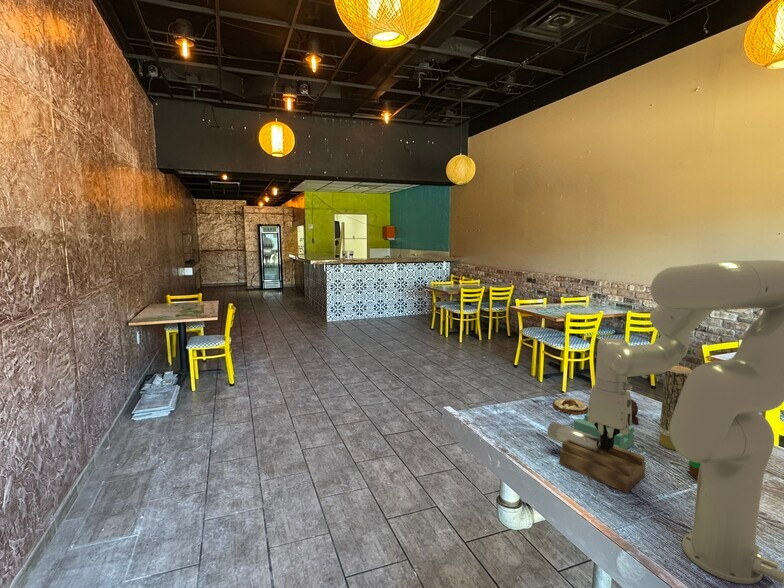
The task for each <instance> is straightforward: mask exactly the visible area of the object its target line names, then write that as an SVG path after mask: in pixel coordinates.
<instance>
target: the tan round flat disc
mask: <svg viewBox="0 0 784 588" xmlns="http://www.w3.org/2000/svg"><path fill="white" fill-rule="evenodd" d="M552 408H554V409H555V410H556V409H557V410H556V411H558V410H560V411H559V412H561V411H562V412H565V413H564V414H566V413H569V414H568V415H571V414H573V415H572V416H580V415H585V414H587V413H588V405H587V404H586V403H584V402H583V401H581V400H580V399H576V398H567V397H566V398H555V399H554V400H553V402H552ZM562 412H561V413H562ZM579 414H580V415H579Z"/></svg>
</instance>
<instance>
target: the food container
mask: <svg viewBox="0 0 784 588" xmlns="http://www.w3.org/2000/svg"><path fill="white" fill-rule="evenodd" d="M688 461H689V462H688V463H689V465H688V466H689V467H688V470H689V472H688V473H689V476H690V477H691V478H692V479H693V480H695V481H697V482H698V474H699V467H700V464H701V463H696V462H692V461H690V460H688Z"/></svg>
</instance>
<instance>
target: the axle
mask: <svg viewBox="0 0 784 588" xmlns="http://www.w3.org/2000/svg"><path fill="white" fill-rule="evenodd" d="M547 437H548V438H549V439H552V440H555V441H556V442H557V441H558V442H559V443H561V444H562V443H563V442H565V441H567V442H569V443H572V444H575V445H577V446H580V447H582V448H585V449H588V450H590V451H593V452H595V453H598V454H600V452H601V450H602V449H601V444H600V438H598V437H596V436H593V435H590V434H587V433H585V432H582V431H579V430H576V429H574V427H573V428H572V427H570V426H568V425H565V424H562V423H559V422H556V421H551V422H550V424H548V427H547Z"/></svg>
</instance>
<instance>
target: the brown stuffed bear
mask: <svg viewBox="0 0 784 588" xmlns="http://www.w3.org/2000/svg"><path fill="white" fill-rule="evenodd" d="M631 405H632V422H633V424H634V425H637V424H639V419H638V417H637V415H638V413H639V412H638V411H639V407H638V403H637V402H636V401H634V400H633V399H631Z"/></svg>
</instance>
